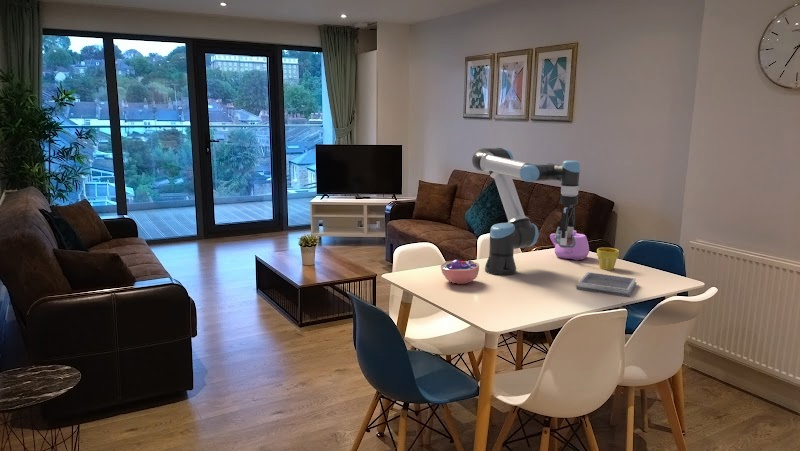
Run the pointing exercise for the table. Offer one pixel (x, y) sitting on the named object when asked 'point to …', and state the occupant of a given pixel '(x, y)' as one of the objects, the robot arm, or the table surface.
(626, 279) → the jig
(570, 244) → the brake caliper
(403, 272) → the table surface
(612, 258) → the plant pot
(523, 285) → the table surface
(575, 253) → the teapot
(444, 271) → the cell model
